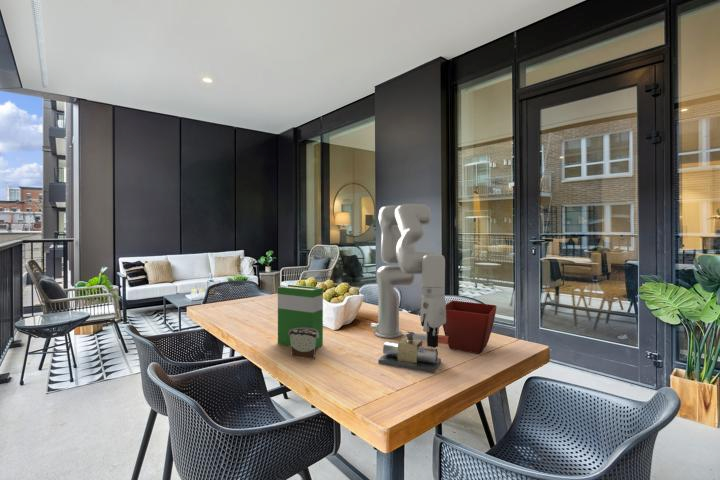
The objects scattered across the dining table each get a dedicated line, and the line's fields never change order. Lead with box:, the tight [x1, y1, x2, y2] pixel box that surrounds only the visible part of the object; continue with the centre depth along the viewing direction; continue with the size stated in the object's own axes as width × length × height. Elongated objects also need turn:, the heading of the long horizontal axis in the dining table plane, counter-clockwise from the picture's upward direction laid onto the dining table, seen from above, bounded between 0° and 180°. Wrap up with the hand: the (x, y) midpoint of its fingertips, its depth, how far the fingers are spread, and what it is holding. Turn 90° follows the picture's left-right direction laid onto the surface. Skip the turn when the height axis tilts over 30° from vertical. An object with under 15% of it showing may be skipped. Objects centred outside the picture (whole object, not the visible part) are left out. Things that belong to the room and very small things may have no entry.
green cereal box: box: [277, 284, 324, 349], centre depth 151 cm, size 18×7×24 cm, turn 63°
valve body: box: [378, 336, 442, 374], centre depth 130 cm, size 20×11×9 cm, turn 64°
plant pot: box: [442, 300, 497, 354], centre depth 148 cm, size 19×19×17 cm
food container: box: [288, 327, 319, 360], centre depth 137 cm, size 12×6×10 cm, turn 71°
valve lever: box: [405, 331, 449, 345], centre depth 128 cm, size 15×3×2 cm, turn 68°
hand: (432, 346), depth 120 cm, fingers closed
